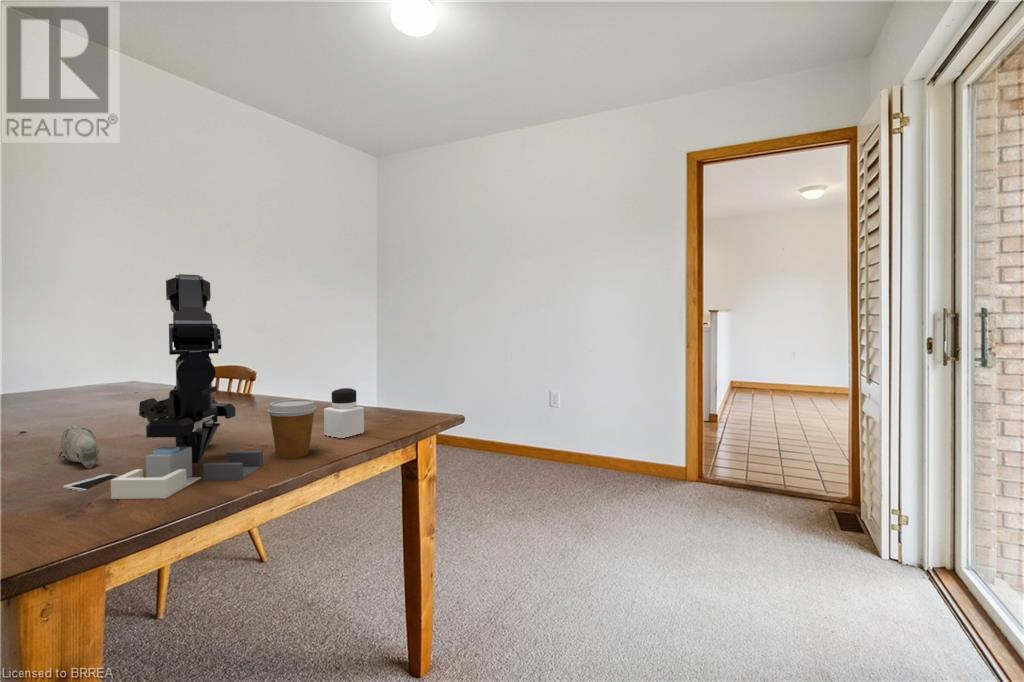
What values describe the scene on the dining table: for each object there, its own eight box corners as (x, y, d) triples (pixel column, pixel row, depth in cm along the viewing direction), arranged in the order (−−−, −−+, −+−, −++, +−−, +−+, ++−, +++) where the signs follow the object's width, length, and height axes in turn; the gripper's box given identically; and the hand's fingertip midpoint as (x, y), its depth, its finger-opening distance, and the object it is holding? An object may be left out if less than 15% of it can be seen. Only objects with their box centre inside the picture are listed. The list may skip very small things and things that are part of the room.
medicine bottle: (364, 434, 124) (364, 388, 124) (341, 439, 118) (341, 391, 117) (346, 430, 128) (346, 386, 127) (323, 435, 122) (323, 389, 121)
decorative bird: (72, 473, 92) (70, 435, 91) (55, 458, 101) (53, 423, 101) (108, 466, 96) (107, 430, 96) (88, 452, 106) (87, 419, 105)
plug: (169, 476, 88) (169, 443, 87) (192, 476, 88) (191, 443, 88) (146, 487, 82) (145, 452, 81) (170, 487, 82) (169, 452, 82)
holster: (230, 468, 95) (230, 450, 95) (263, 468, 95) (263, 450, 95) (203, 484, 86) (202, 464, 86) (239, 484, 86) (239, 464, 86)
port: (154, 482, 87) (154, 461, 87) (202, 481, 87) (201, 461, 87) (111, 503, 77) (110, 480, 77) (165, 502, 77) (164, 479, 77)
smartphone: (125, 501, 79) (125, 495, 79) (61, 490, 83) (61, 485, 83) (167, 487, 86) (167, 481, 86) (106, 477, 90) (106, 473, 90)
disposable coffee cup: (326, 453, 106) (325, 400, 105) (295, 466, 97) (295, 407, 96) (290, 450, 109) (289, 397, 108) (257, 462, 99) (256, 405, 99)
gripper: (182, 376, 100) (183, 449, 101) (112, 390, 82) (115, 479, 83) (236, 377, 101) (237, 449, 102) (179, 390, 82) (181, 479, 83)
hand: (195, 462), depth 92 cm, fingers closed
